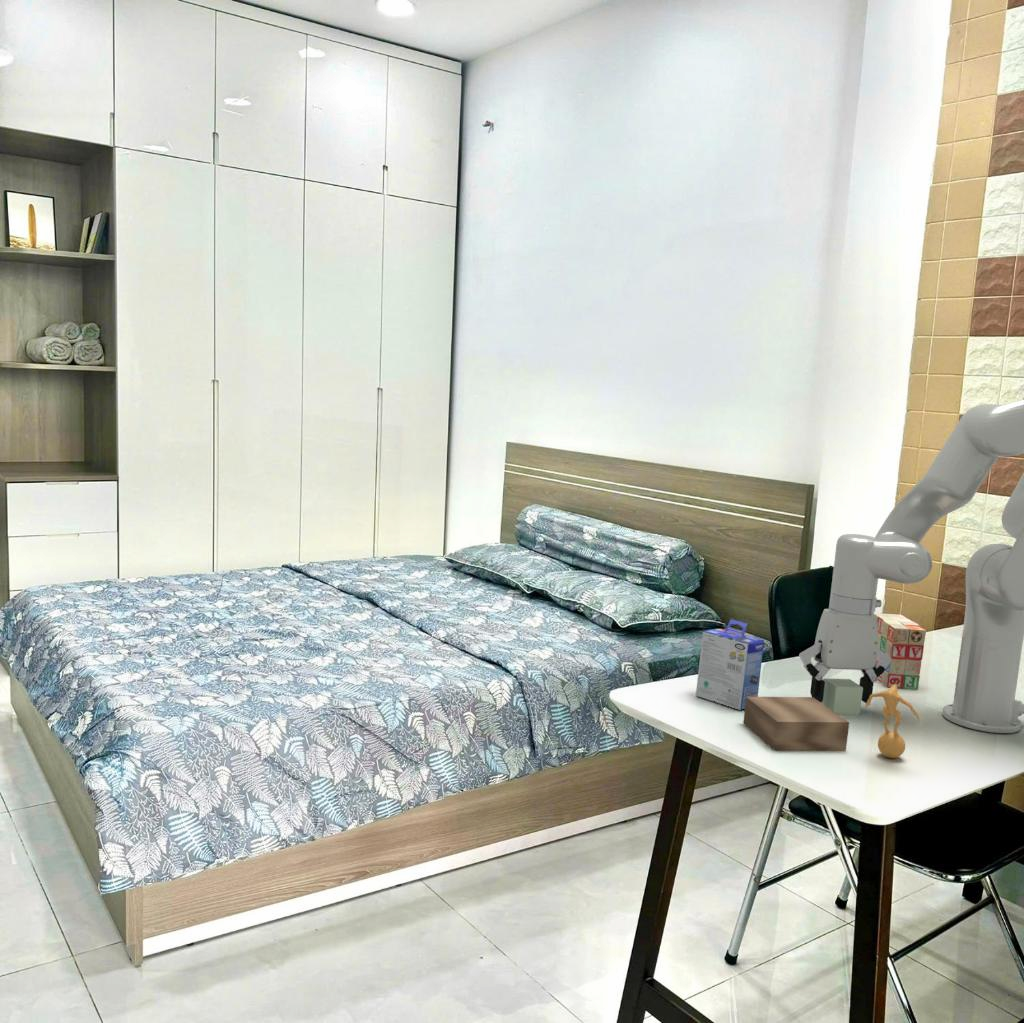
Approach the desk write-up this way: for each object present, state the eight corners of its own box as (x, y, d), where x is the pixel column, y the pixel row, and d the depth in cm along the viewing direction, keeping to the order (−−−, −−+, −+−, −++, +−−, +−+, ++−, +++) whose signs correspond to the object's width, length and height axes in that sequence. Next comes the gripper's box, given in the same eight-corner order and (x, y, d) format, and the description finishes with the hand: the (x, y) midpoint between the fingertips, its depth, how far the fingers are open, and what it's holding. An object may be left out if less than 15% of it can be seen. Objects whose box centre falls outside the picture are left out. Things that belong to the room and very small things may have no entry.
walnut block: (809, 725, 164) (813, 697, 164) (845, 752, 153) (849, 722, 152) (743, 725, 162) (745, 696, 161) (774, 752, 150) (777, 721, 150)
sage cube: (846, 705, 176) (849, 678, 175) (859, 715, 171) (863, 687, 170) (820, 704, 175) (823, 678, 175) (833, 714, 170) (836, 686, 170)
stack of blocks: (850, 658, 210) (856, 602, 208) (879, 660, 210) (885, 604, 208) (886, 688, 189) (894, 626, 187) (918, 691, 189) (926, 629, 187)
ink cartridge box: (759, 706, 172) (767, 626, 170) (741, 712, 168) (750, 630, 166) (712, 691, 179) (719, 614, 177) (694, 696, 175) (702, 618, 173)
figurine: (921, 762, 150) (931, 687, 148) (907, 772, 145) (917, 694, 144) (868, 746, 155) (877, 673, 154) (853, 755, 151) (862, 680, 149)
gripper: (887, 602, 176) (875, 695, 178) (796, 598, 173) (785, 692, 175) (909, 612, 168) (896, 708, 171) (814, 608, 166) (803, 706, 168)
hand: (840, 700), depth 173 cm, fingers open, 8 cm apart
